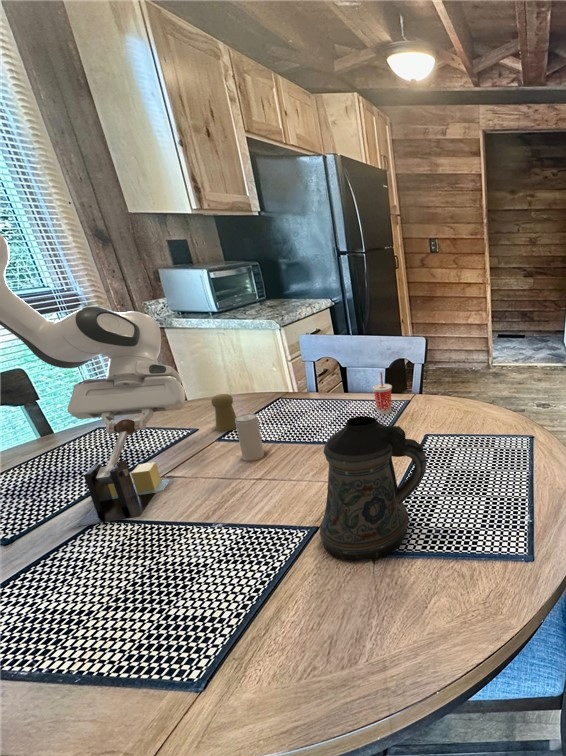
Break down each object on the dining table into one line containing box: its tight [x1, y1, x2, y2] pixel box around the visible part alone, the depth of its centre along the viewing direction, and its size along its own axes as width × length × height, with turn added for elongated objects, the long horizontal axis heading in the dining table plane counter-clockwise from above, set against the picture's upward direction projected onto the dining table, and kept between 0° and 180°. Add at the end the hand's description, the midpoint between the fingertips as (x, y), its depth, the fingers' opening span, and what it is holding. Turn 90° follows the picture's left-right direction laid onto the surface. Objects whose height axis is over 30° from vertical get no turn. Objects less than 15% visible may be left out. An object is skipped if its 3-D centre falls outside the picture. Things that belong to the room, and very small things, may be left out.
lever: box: [96, 418, 137, 485], centre depth 88 cm, size 16×4×4 cm, turn 21°
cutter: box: [76, 460, 158, 528], centre depth 85 cm, size 9×10×11 cm
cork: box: [210, 393, 238, 432], centre depth 123 cm, size 6×6×11 cm
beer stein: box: [319, 415, 428, 562], centre depth 79 cm, size 16×19×25 cm
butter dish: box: [112, 478, 171, 499], centre depth 93 cm, size 12×5×1 cm, turn 112°
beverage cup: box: [372, 371, 393, 415], centre depth 138 cm, size 6×6×14 cm
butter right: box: [130, 461, 162, 493], centre depth 93 cm, size 3×4×5 cm
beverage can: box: [235, 413, 265, 462], centre depth 107 cm, size 5×5×12 cm
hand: (126, 431), depth 92 cm, fingers closed on lever, 3 cm apart
